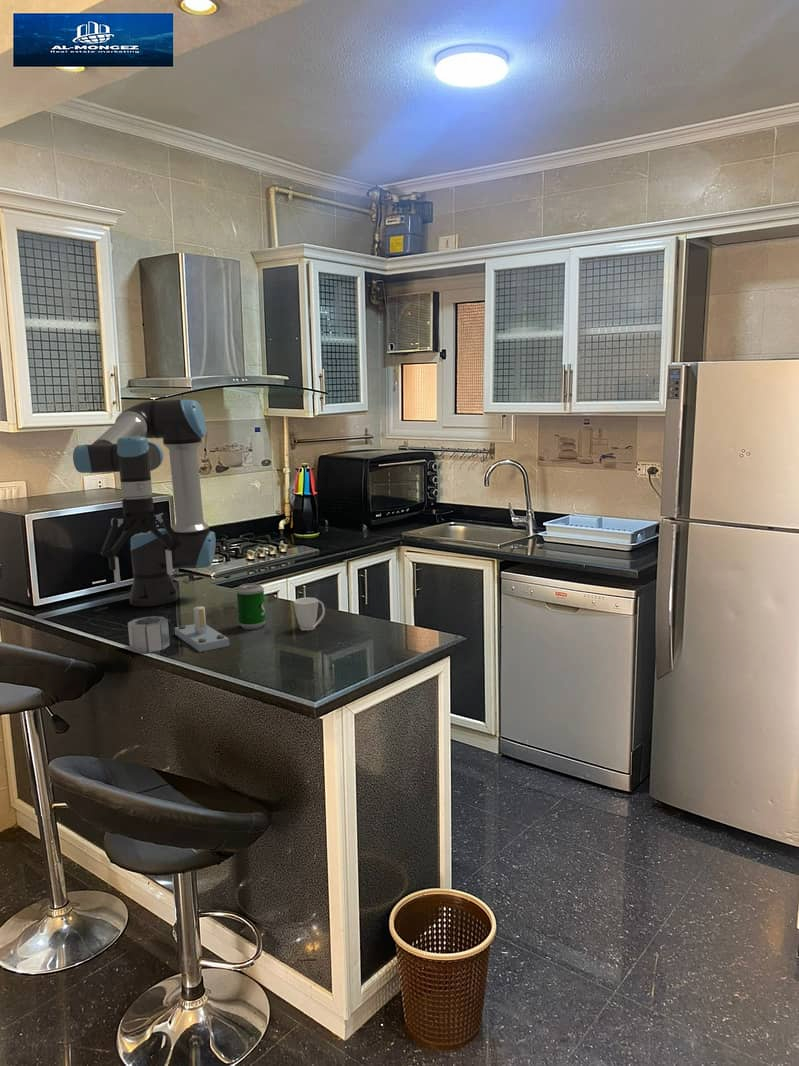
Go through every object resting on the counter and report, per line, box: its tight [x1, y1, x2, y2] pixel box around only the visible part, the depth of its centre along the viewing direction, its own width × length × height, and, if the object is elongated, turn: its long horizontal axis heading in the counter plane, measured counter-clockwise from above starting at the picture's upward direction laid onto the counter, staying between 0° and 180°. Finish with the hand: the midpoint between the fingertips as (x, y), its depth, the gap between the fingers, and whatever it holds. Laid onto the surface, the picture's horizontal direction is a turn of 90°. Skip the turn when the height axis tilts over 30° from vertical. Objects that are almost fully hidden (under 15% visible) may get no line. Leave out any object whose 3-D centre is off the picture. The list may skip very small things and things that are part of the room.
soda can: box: [236, 582, 267, 630], centre depth 223 cm, size 8×8×12 cm
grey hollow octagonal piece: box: [127, 615, 170, 654], centre depth 208 cm, size 10×10×7 cm
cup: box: [292, 597, 326, 631], centre depth 221 cm, size 7×10×8 cm
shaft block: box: [174, 606, 230, 653], centre depth 212 cm, size 20×8×9 cm, turn 34°
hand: (144, 578), depth 205 cm, fingers open, 13 cm apart
